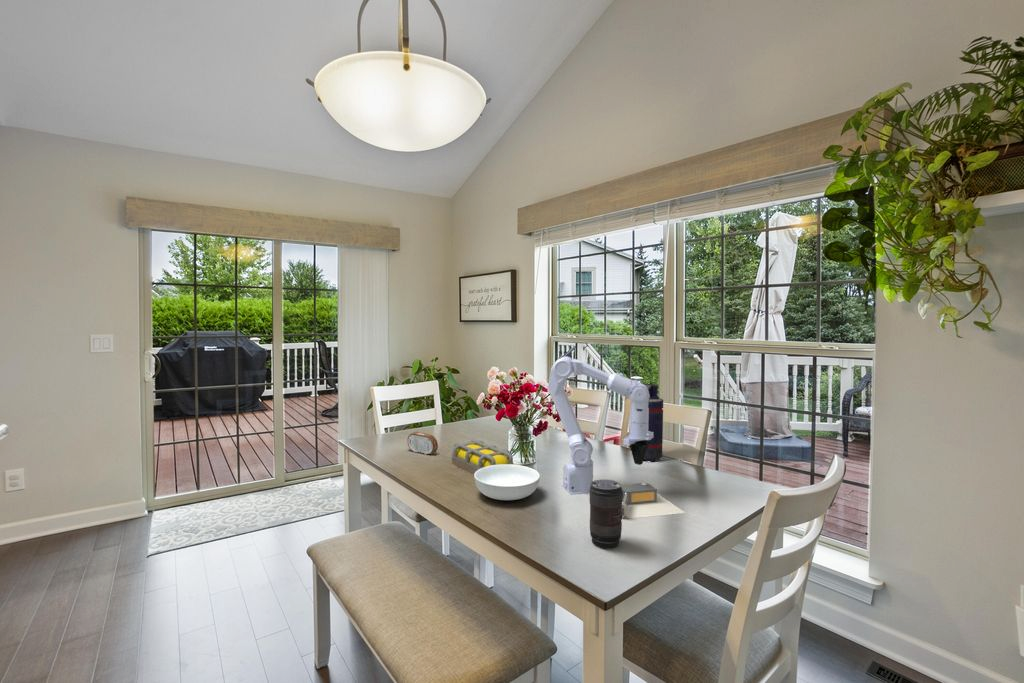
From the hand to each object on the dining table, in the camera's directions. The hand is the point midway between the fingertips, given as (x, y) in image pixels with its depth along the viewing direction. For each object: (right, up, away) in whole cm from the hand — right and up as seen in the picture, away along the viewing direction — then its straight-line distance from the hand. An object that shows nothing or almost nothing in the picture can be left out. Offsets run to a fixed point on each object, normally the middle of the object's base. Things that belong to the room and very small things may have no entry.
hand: (638, 463), depth 153 cm
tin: (-78, -8, +47) cm, 91 cm away
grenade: (+13, -8, +40) cm, 43 cm away
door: (-8, -10, -14) cm, 19 cm away
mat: (-1, -10, -9) cm, 14 cm away
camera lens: (-17, -12, -32) cm, 38 cm away
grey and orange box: (-2, -10, -5) cm, 11 cm away
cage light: (-52, -9, +27) cm, 59 cm away
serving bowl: (-42, -10, 0) cm, 43 cm away
